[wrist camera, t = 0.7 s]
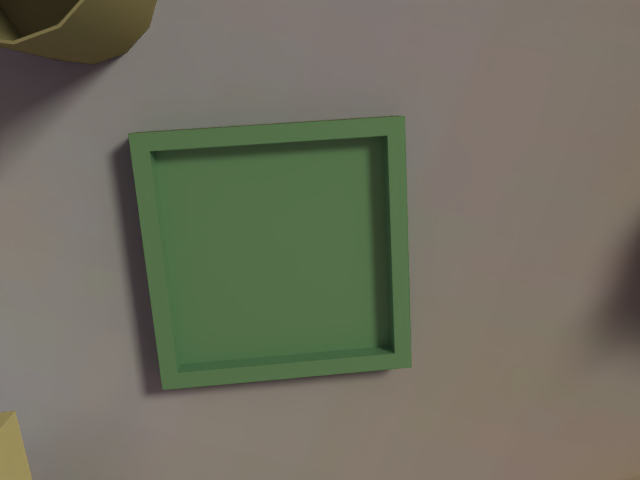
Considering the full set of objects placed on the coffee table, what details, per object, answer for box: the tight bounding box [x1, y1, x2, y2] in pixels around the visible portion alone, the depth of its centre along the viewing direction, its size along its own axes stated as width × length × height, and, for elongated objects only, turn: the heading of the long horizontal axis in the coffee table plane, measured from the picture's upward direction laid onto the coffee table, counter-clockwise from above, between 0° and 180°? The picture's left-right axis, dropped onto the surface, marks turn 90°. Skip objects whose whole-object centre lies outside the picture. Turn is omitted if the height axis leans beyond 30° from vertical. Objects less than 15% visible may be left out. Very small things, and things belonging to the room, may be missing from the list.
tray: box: [128, 116, 412, 390], centre depth 34 cm, size 15×15×2 cm
